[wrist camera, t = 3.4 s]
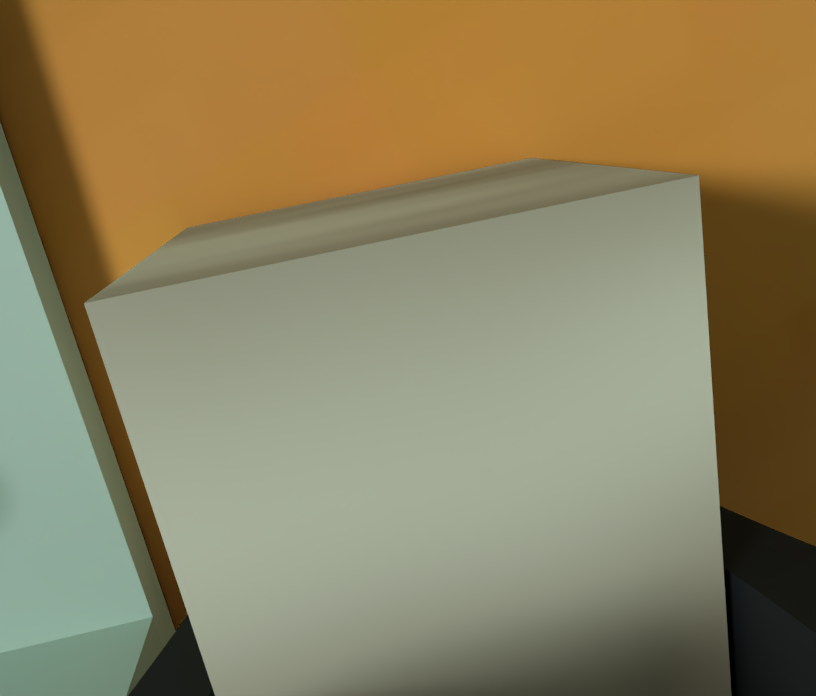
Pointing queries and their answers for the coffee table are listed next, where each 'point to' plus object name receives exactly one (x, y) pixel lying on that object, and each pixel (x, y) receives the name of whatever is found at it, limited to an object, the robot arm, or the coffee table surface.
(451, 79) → the coffee table surface
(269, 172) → the coffee table surface
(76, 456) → the peg frame
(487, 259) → the shelf block
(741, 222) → the coffee table surface
